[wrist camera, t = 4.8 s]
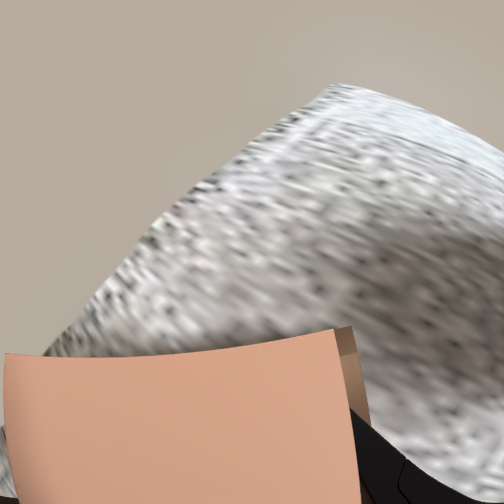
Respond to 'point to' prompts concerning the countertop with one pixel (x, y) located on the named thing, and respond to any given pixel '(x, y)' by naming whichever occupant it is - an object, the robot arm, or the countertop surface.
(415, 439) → the countertop surface
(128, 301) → the countertop surface
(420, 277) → the countertop surface
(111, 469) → the block
